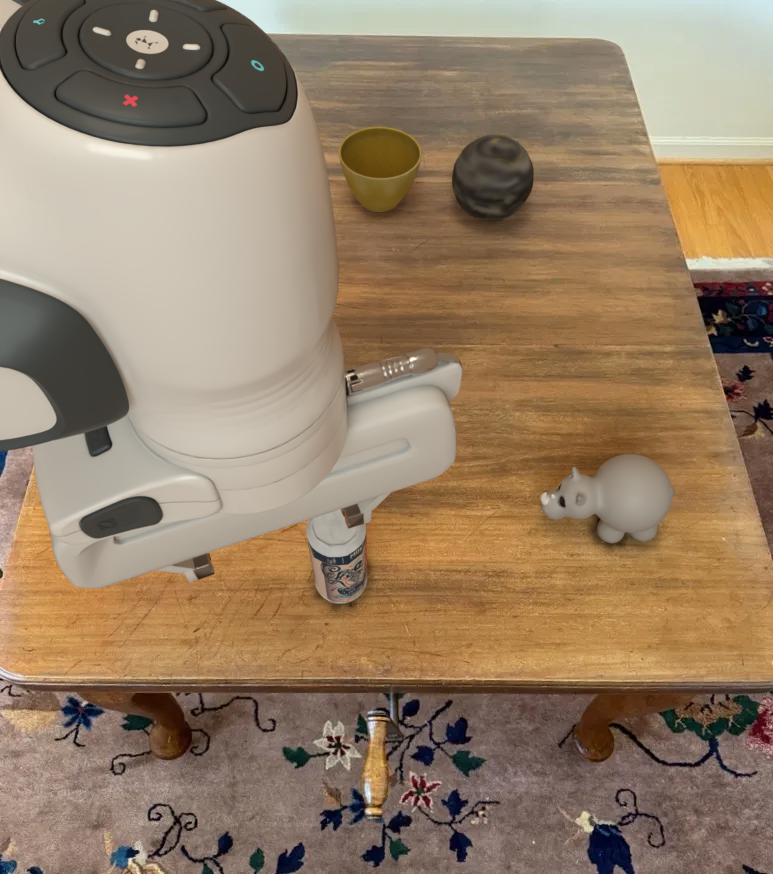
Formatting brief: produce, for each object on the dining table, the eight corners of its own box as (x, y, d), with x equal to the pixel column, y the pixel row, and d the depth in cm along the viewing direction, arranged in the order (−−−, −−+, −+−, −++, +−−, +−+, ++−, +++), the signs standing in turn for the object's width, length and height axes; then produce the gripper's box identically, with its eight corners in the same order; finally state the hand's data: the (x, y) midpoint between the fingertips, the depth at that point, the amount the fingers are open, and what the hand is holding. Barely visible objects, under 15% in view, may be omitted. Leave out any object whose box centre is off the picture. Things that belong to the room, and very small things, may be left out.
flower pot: (403, 167, 100) (405, 119, 94) (429, 216, 95) (433, 169, 88) (331, 182, 98) (328, 134, 92) (354, 233, 93) (352, 186, 87)
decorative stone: (539, 227, 94) (555, 160, 85) (466, 245, 92) (475, 178, 83) (506, 178, 99) (519, 110, 90) (436, 193, 97) (443, 125, 88)
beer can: (337, 616, 66) (331, 564, 56) (304, 578, 68) (292, 520, 58) (378, 582, 68) (378, 526, 58) (344, 546, 70) (340, 485, 60)
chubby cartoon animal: (525, 485, 74) (542, 440, 67) (645, 484, 74) (674, 438, 67) (535, 552, 70) (553, 512, 63) (661, 550, 70) (693, 510, 63)
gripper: (438, 292, 35) (423, 444, 47) (-9, 416, 31) (96, 549, 43) (495, 393, 32) (463, 530, 44) (6, 545, 28) (115, 651, 40)
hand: (279, 540), depth 43 cm, fingers open, 8 cm apart
